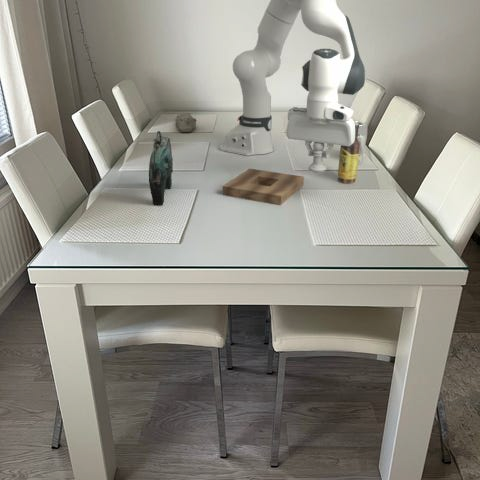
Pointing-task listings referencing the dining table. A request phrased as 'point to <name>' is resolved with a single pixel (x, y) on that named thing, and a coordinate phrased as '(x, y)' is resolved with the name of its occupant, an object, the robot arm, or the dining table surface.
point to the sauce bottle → (349, 160)
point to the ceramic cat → (160, 168)
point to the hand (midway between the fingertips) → (318, 156)
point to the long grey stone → (185, 122)
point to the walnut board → (263, 186)
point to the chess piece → (317, 158)
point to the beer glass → (362, 139)
